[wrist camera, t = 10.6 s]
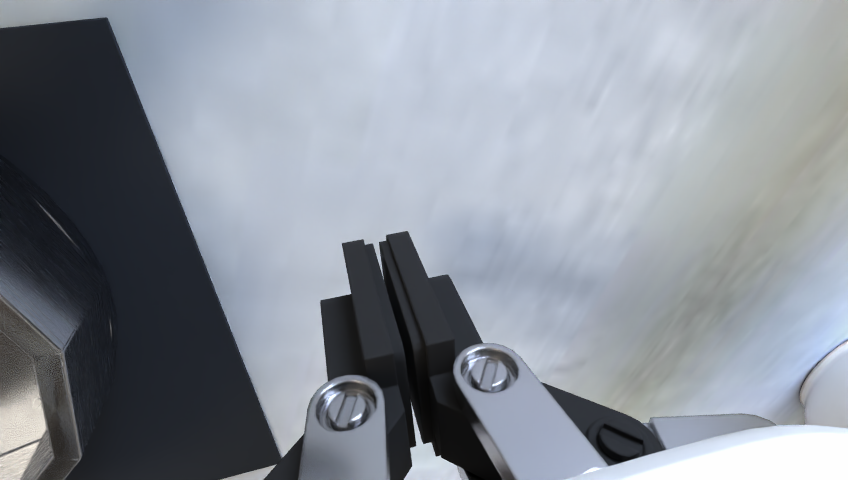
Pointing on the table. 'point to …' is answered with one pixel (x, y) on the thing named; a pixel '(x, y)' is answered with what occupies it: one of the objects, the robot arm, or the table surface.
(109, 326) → the frying pan
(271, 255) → the table surface
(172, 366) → the mat
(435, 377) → the robot arm
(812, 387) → the trinket box
